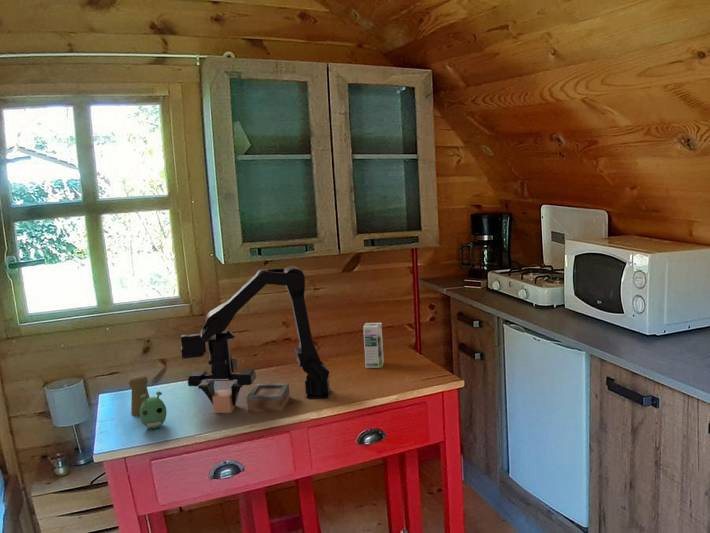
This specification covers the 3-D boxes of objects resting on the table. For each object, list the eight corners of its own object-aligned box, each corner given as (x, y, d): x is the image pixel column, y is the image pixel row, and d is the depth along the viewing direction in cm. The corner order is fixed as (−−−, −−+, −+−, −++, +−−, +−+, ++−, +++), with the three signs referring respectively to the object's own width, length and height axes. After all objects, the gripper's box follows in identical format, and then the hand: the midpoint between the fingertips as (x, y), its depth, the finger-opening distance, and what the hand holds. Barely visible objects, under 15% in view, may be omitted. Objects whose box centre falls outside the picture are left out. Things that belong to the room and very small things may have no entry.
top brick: (236, 405, 176) (234, 389, 175) (230, 412, 171) (229, 396, 170) (219, 406, 177) (218, 390, 176) (214, 413, 172) (212, 396, 171)
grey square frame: (290, 398, 180) (288, 383, 179) (282, 412, 170) (281, 396, 169) (257, 398, 181) (256, 383, 180) (248, 412, 171) (246, 396, 170)
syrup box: (365, 368, 201) (362, 326, 199) (367, 362, 207) (365, 322, 204) (382, 368, 200) (379, 326, 198) (384, 362, 206) (381, 321, 203)
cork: (140, 417, 172) (135, 381, 170) (126, 413, 175) (122, 378, 173) (157, 409, 177) (152, 374, 175) (143, 406, 180) (139, 371, 178)
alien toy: (140, 435, 160) (136, 400, 158) (142, 424, 167) (137, 390, 165) (168, 431, 162) (163, 396, 160) (168, 420, 169) (164, 386, 167)
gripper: (258, 344, 178) (263, 394, 181) (198, 346, 180) (203, 395, 183) (248, 357, 167) (253, 409, 170) (184, 358, 169) (190, 410, 172)
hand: (224, 405), depth 174 cm, fingers open, 6 cm apart
